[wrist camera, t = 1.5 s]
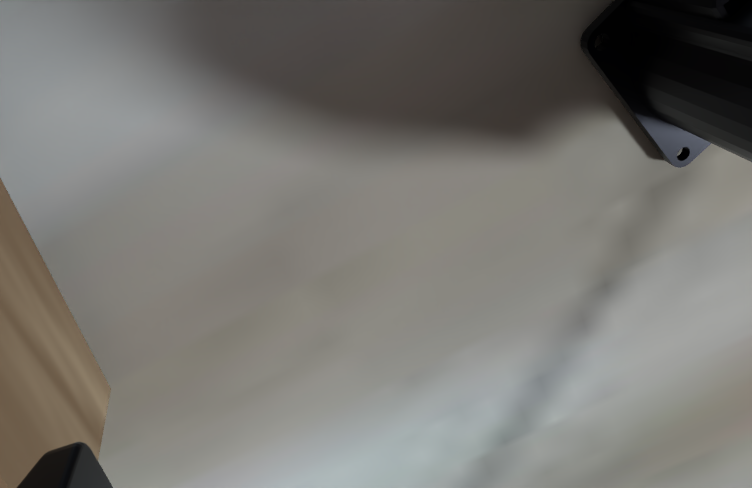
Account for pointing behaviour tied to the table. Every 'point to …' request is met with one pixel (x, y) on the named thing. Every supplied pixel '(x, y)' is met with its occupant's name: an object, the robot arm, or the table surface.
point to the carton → (40, 360)
